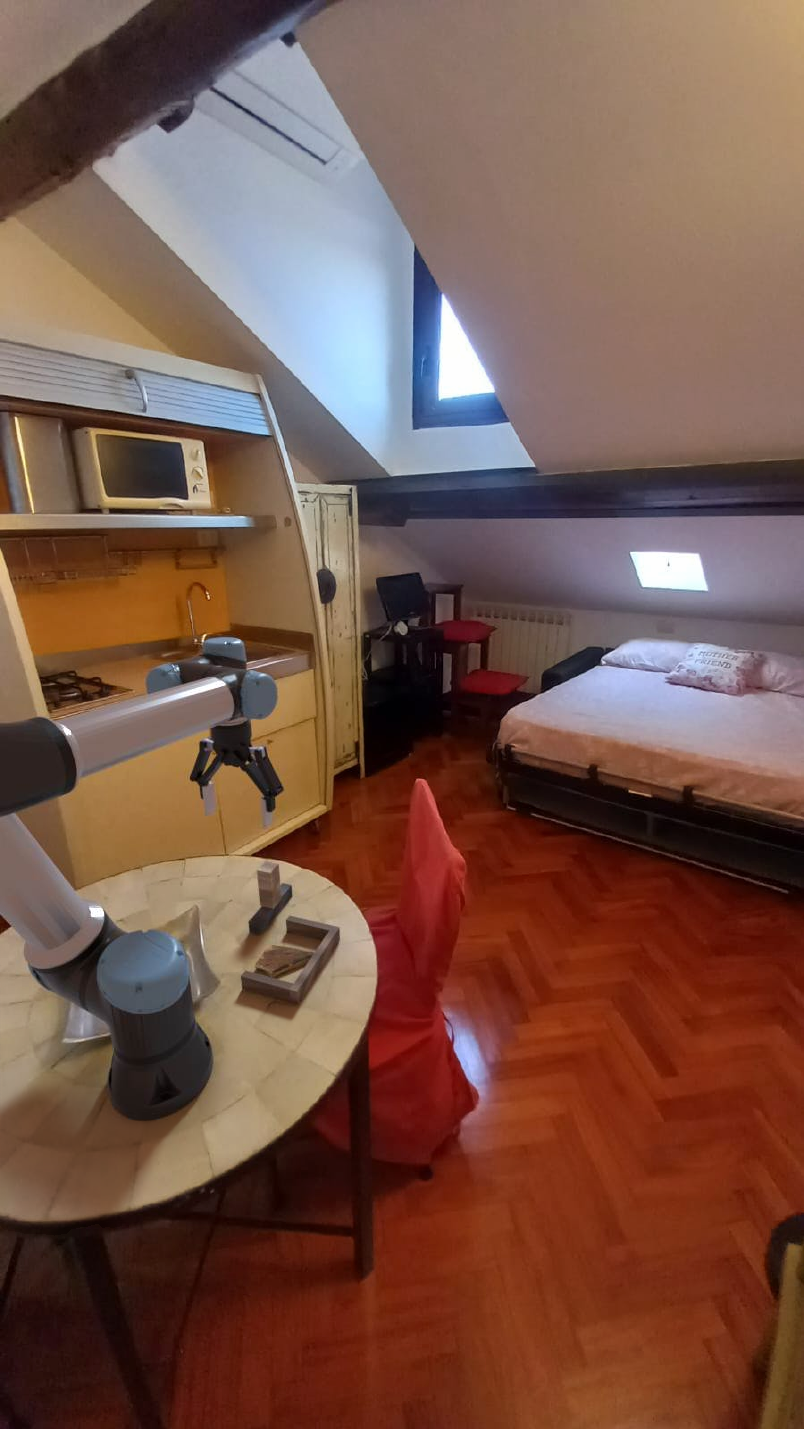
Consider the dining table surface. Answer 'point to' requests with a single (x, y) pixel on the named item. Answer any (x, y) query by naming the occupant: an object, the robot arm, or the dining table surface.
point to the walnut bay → (310, 971)
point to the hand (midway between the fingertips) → (239, 819)
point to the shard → (282, 959)
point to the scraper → (269, 896)
